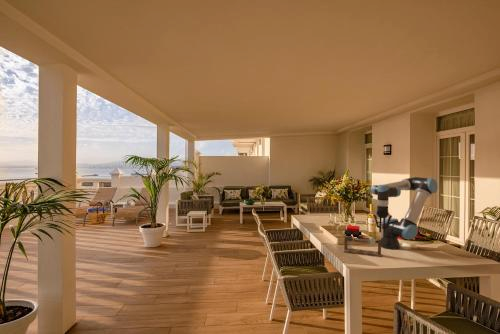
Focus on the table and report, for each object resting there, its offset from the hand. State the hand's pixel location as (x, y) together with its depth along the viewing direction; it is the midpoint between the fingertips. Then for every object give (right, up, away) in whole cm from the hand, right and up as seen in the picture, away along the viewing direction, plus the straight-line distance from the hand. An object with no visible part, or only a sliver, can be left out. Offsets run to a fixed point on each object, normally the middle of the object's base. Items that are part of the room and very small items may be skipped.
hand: (381, 237), depth 221 cm
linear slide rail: (-13, -14, +6) cm, 19 cm away
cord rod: (-12, -5, +5) cm, 15 cm away
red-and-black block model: (-4, -13, +50) cm, 52 cm away
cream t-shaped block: (-6, -6, +3) cm, 9 cm away
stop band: (-18, -5, +8) cm, 21 cm away
